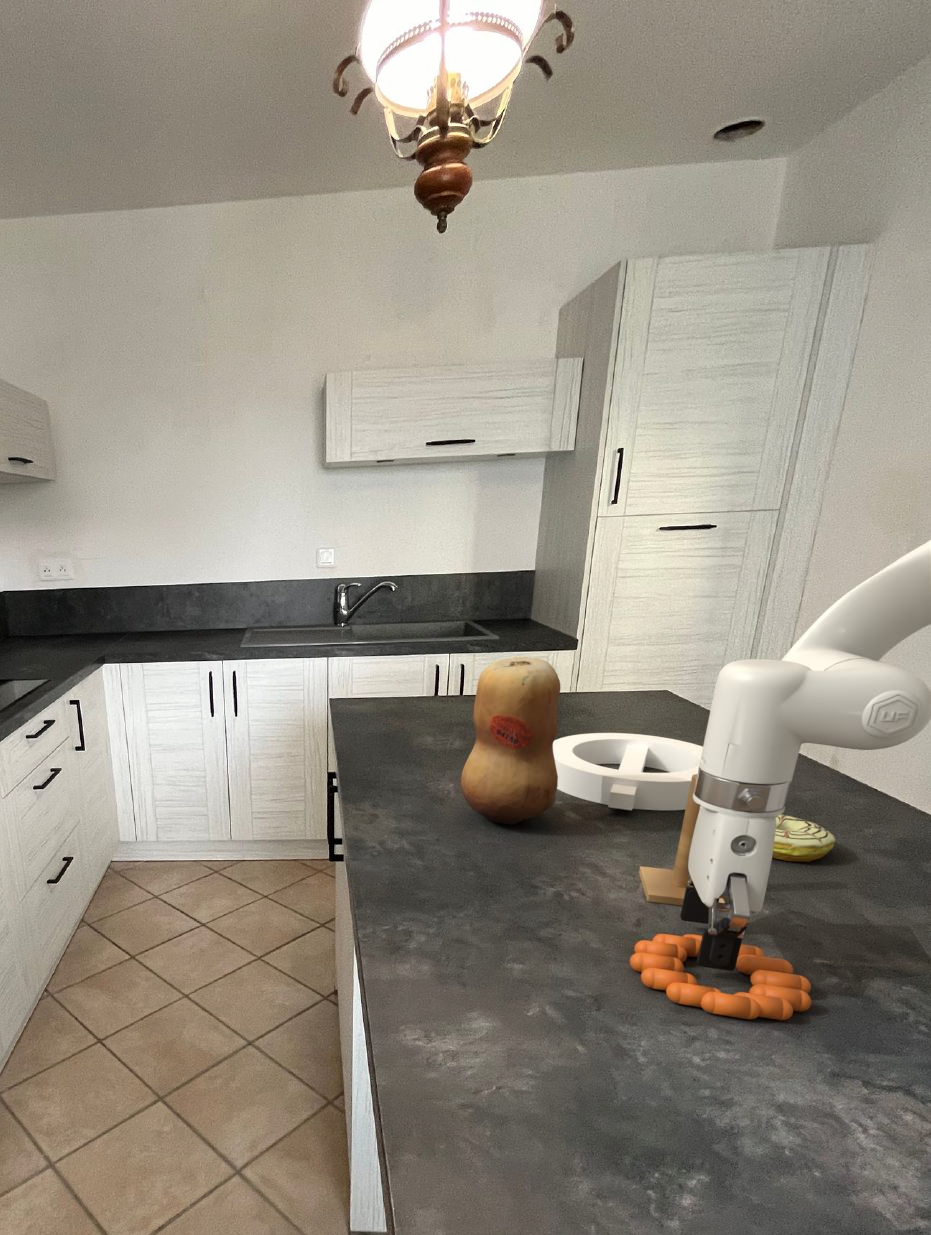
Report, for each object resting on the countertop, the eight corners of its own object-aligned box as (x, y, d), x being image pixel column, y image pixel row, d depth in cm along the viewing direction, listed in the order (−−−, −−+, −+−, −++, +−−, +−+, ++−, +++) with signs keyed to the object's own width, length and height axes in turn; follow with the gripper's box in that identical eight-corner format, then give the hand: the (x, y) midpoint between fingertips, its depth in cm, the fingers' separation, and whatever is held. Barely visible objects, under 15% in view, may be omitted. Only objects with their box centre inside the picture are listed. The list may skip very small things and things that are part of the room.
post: (709, 880, 92) (733, 768, 86) (724, 910, 85) (751, 791, 79) (638, 872, 94) (658, 763, 89) (647, 901, 87) (668, 785, 82)
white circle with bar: (617, 819, 111) (622, 790, 109) (512, 766, 136) (514, 741, 135) (767, 797, 117) (773, 770, 115) (639, 750, 142) (643, 727, 140)
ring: (787, 960, 75) (791, 944, 74) (831, 1037, 64) (837, 1018, 63) (621, 937, 80) (624, 922, 80) (636, 1005, 69) (639, 987, 69)
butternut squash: (449, 829, 110) (461, 665, 101) (467, 800, 121) (479, 649, 112) (547, 843, 104) (569, 670, 95) (556, 811, 115) (576, 653, 106)
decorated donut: (826, 842, 101) (833, 817, 99) (832, 872, 92) (840, 845, 91) (737, 828, 106) (742, 804, 105) (735, 855, 98) (741, 829, 97)
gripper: (817, 827, 61) (770, 997, 68) (761, 765, 76) (727, 909, 83) (715, 818, 64) (679, 983, 70) (680, 760, 79) (653, 900, 85)
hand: (705, 942), depth 76 cm, fingers open, 8 cm apart
